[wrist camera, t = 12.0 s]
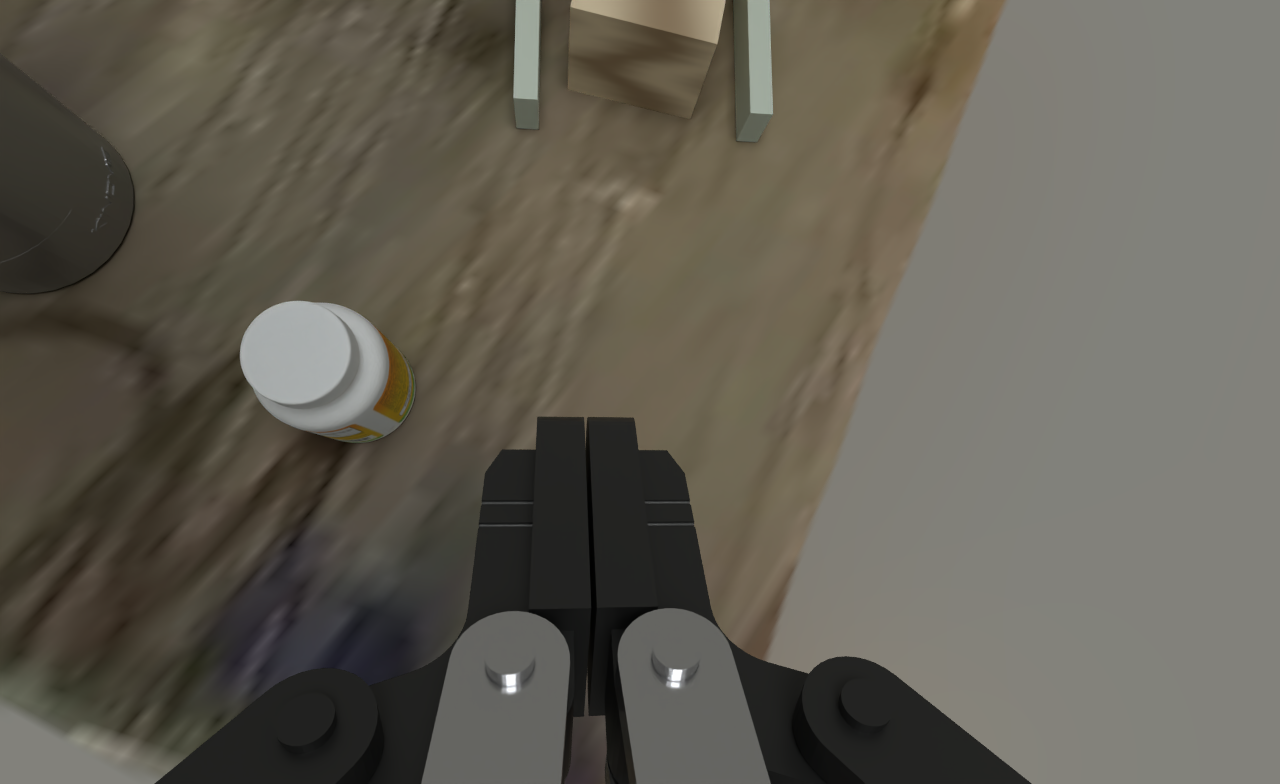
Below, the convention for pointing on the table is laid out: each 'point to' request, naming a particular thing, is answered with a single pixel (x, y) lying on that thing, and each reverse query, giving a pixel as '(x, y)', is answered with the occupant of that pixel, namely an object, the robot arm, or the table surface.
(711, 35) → the oak block
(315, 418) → the supplement bottle
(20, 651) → the table surface
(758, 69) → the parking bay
